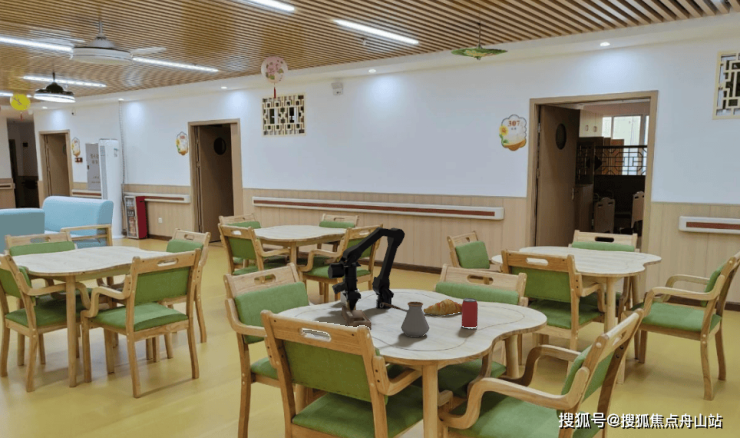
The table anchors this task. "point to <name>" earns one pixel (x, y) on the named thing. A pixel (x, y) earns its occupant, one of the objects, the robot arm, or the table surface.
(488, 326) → the table surface
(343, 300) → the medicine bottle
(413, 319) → the coffee pot
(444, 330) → the table surface
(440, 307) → the croissant
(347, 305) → the brass clip block
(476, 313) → the beer can
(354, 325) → the guide board
